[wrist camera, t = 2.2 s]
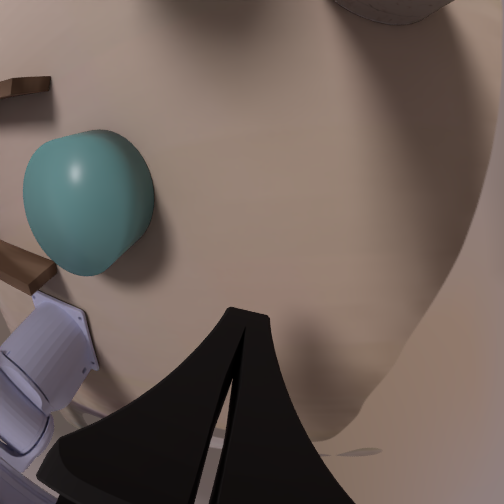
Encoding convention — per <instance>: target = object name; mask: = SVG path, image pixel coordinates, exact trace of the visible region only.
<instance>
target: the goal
mask: <svg viewBox="0 0 504 504" xmlns="http://www.w3.org/2000/svg"><path fill="white" fill-rule="evenodd" d="M50 78H51V76H41V77H21V78H11V79H8V80H4V81H1V82H0V99H5V98H10V97H15V96H20V95H26V94H32V93H38V92H45V91H49V85H50ZM56 273H57V269H56V264H55V262H54V261H51V260H49V259H46V258H44V257H41V256H38V255H36V254H33V253H31V252H28V251H26V250H23V249H21V248H18V247H16V246H14V245H11V244H9V243H6V242H4V241H2V240H0V279H1V280H2V281H4V282H6V283H8V284H9V285H11V286H13V287H15V288H17V289H19V290H21V291H22V292H24V293H26V294H28V295H30V296H32V295H33V294H34V293H35V292H36V291H38V290H39V289H40V288H41V287H42V286H43V285H44V284H45V283H46V282H47V281H48V280H50V279H51V278H52V277H53V276H54V275H55V274H56Z"/></svg>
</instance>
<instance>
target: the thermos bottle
mask: <svg viewBox="0 0 504 504" xmlns="http://www.w3.org/2000/svg"><path fill="white" fill-rule="evenodd" d="M334 1H335V2H336V3H338V4H339V5H341V6H342V7H344V8H345V9H347V10H349V11H350V12H352V13H355V14H357V15H359V16H361V17H363V18H366V19H369V20H372V21H375V22H380V23H385V24H391V25H405V24H412V23H415V22H417V21H420V20H422V19H424V18H425V17H427V16H429V15H430V14H432V13H434V12H435V11H437V10H438V9H440V8H442V7H443V6H445V5H447V4H449V3H450V2H452V1H454V0H334Z"/></svg>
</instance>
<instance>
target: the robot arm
mask: <svg viewBox="0 0 504 504" xmlns="http://www.w3.org/2000/svg"><path fill="white" fill-rule="evenodd" d="M32 299H33V303H34V306H35V310H34V311H33V312H32V313H31V314H30V315H29V316H28V317H27V318H26V319H25V320H24V321H23V322H22V323H21V324H20V325H19V326H18V327H17V328H16V330H15V331H14V332H13V333H12V334H11V335H10V336H9V337H8V339H6V341H5V342H4V343H3V344H2V345H1V346H0V439H2V440H3V441H4V442H5V443H6V444H7V445H6V444H4V443H2V442H1V441H0V504H194V502H195V498H196V495H197V490H198V487H199V483H200V479H201V475H202V471H203V467H204V464H205V460H206V456H207V452H208V448H209V445H210V441H211V438H212V435H213V431H214V428H215V426H216V423H217V420H218V418H219V415H220V412H221V409H222V407H223V404H224V401H225V398H226V396H227V393H228V390H229V387H230V384H231V382H232V388H231V396H230V403H229V411H228V418H227V426H226V433H225V439H224V444H223V448H222V452H221V457H220V461H219V465H218V469H217V473H216V477H215V481H214V485H213V489H212V493H211V497H210V500H209V504H355V503H354V502H353V500H352V499H351V498H350V497H349V496H348V495H347V493H346V492H345V491H344V490H343V488H342V487H341V486H340V485H339V483H338V482H337V481H336V479H335V478H334V477H333V475H332V474H331V472H330V471H329V469H328V468H327V467H326V465H325V464H324V462H323V460H322V459H321V457H320V456H319V454H318V452H317V451H316V449H315V447H314V446H313V444H312V442H311V441H310V439H309V437H308V435H307V433H306V431H305V430H304V428H303V426H302V424H301V422H300V420H299V417H298V415H297V413H296V411H295V409H294V406H293V404H292V402H291V399H290V397H289V394H288V391H287V389H286V386H285V383H284V380H283V377H282V374H281V371H280V367H279V364H278V360H277V357H276V353H275V349H274V344H273V339H272V334H271V327H270V318H269V317H268V315H264V314H260V313H255V312H251V311H247V310H243V309H238V308H234V307H229V308H227V309H226V311H225V313H224V315H223V316H222V318H221V319H220V321H219V322H218V323H217V325H216V326H215V327H214V329H213V330H212V331H211V332H210V334H209V335H208V336H207V337H206V338H205V339H204V341H203V342H202V343H201V344H200V345H199V346H198V347H197V348H196V349H195V350H194V351H193V352H192V353H191V354H190V355H189V356H188V357H187V358H186V359H185V360H184V361H183V362H182V363H181V364H180V365H179V366H178V367H177V368H176V369H175V370H174V371H172V372H171V373H170V374H169V375H168V376H167V377H165V378H164V379H163V380H162V381H160V382H159V383H158V384H157V385H155V386H154V387H153V388H151V389H150V390H148V391H147V392H146V393H144V394H143V395H141V396H140V397H139V398H137V399H136V400H134V401H133V402H131V403H129V404H128V405H126V406H124V407H123V408H121V409H119V410H117V411H116V412H114V413H112V414H110V415H108V416H107V417H105V418H103V419H101V420H99V421H97V422H95V423H93V424H91V425H89V426H86V427H84V428H82V429H79V430H77V431H75V432H72V433H70V434H67V435H65V436H62V437H60V438H59V439H58V440H57V442H56V443H55V444H54V445H53V447H52V448H51V449H50V451H49V452H48V453H47V455H46V457H45V459H44V461H43V463H42V464H41V466H40V468H39V470H38V472H37V474H36V476H37V479H38V480H39V481H41V482H42V483H44V484H45V485H46V486H48V487H49V488H51V489H52V490H54V491H56V492H57V493H59V494H60V495H59V497H58V498H56V497H54V496H53V495H51V494H50V493H48V492H47V491H45V490H44V489H42V488H40V487H39V486H38V485H36V484H35V483H33V482H32V481H31V480H29V479H28V478H27V477H25V476H24V475H23V474H21V472H24V471H25V470H26V469H27V468H28V467H29V466H30V464H31V463H32V462H33V460H34V459H35V458H36V457H38V456H39V455H40V454H41V453H42V452H43V451H44V450H45V449H46V447H47V446H48V444H49V442H50V440H51V438H52V436H53V432H54V419H53V416H52V415H51V414H50V413H51V411H57V410H61V409H63V408H64V407H66V406H67V405H68V404H69V403H70V402H71V400H72V399H73V397H74V395H75V394H76V392H77V391H78V389H79V387H80V386H81V384H82V383H83V381H84V379H85V378H86V376H87V375H88V373H89V372H90V370H91V369H93V370H95V371H98V370H99V365H98V361H97V358H96V355H95V351H94V348H93V344H92V341H91V337H90V333H89V329H88V325H87V321H86V317H85V313H84V312H83V311H82V310H81V309H79V308H76V307H74V306H72V305H69V304H67V303H65V302H62V301H60V300H58V299H56V298H53V297H51V296H49V295H47V294H45V293H43V292H40V291H36V292H35V293H34V294H33V295H32ZM232 379H233V381H232Z"/></svg>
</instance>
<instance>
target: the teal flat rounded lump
mask: <svg viewBox="0 0 504 504" xmlns="http://www.w3.org/2000/svg"><path fill="white" fill-rule="evenodd" d="M23 200H24V207H25V212H26V216H27V220H28V223H29V225H30V228H31V230H32V232H33V234H34V236H35V238H36V240H37V242H38V243H39V245H40V246H41V248H42V249H43V250H44V252H45V253H46V254H47V255H48V256H49V257H50V258H51V259H52V260H53V261H54V262H55V263H56V264H57V265H59V266H60V267H62V268H63V269H65V270H67V271H68V272H71V273H73V274H76V275H80V276H94V275H98V274H100V273H102V272H104V271H105V270H106V269H107V268H109V267H110V266H111V265H112V264H113V263H114V262H115V261H116V260H117V259H118V258H119V257H120V256H121V255H122V254H123V253H124V252H126V251H127V250H128V249H129V248H130V247H131V246H132V245H133V244H134V243H135V242H136V241H137V240H139V239H140V237H141V236H142V235H143V234H144V232H145V231H146V230H147V228H148V225H149V223H150V221H151V217H152V213H153V208H154V190H153V184H152V179H151V176H150V173H149V170H148V168H147V165H146V163H145V161H144V159H143V157H142V156H141V154H140V153H139V152H138V150H137V149H136V148H135V147H134V146H133V144H132V143H130V142H129V141H128V140H127V139H126V138H124V137H123V136H121V135H119V134H117V133H115V132H112V131H108V130H100V129H99V130H92V131H87V132H82V133H78V134H74V135H70V136H66V137H62V138H58V139H54V140H51V141H49V142H46V143H45V144H43V145H42V146H40V147H39V148H38V149H37V150H36V152H35V153H34V154H33V156H32V157H31V159H30V161H29V163H28V166H27V168H26V172H25V176H24V183H23Z"/></svg>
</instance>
